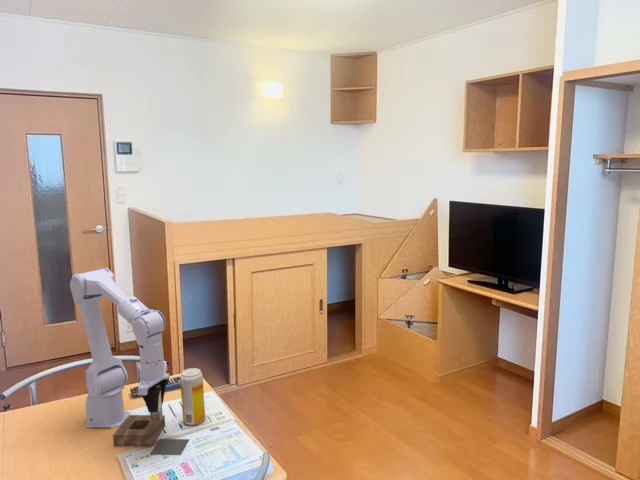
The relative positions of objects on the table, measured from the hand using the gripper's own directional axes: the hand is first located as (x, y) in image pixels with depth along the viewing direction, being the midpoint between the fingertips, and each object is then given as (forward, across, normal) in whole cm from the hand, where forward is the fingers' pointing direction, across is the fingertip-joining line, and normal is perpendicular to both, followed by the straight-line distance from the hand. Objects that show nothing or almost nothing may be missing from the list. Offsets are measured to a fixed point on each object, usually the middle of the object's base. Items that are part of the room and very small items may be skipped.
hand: (155, 408), depth 129 cm
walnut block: (+10, +3, +6) cm, 12 cm away
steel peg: (+3, 0, 0) cm, 3 cm away
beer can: (+10, +11, -6) cm, 16 cm away
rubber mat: (+10, -2, -4) cm, 11 cm away
